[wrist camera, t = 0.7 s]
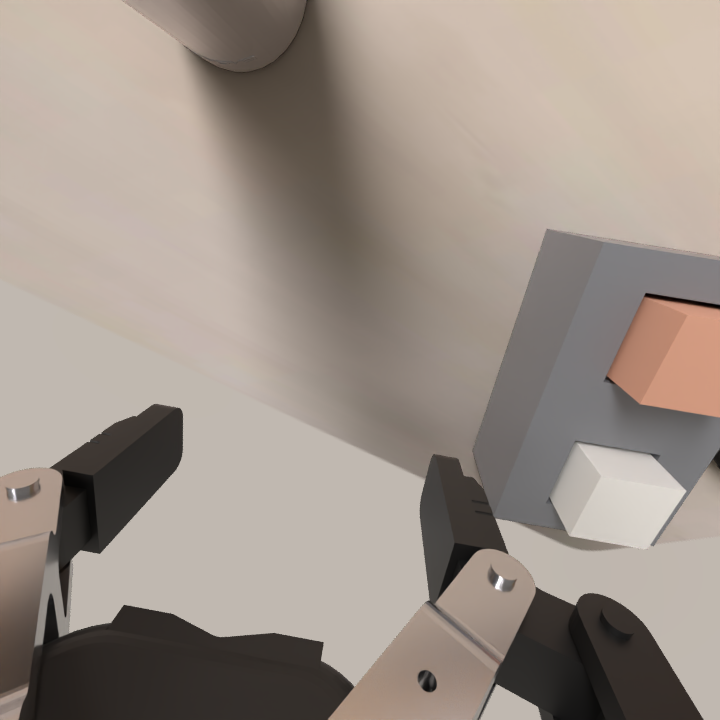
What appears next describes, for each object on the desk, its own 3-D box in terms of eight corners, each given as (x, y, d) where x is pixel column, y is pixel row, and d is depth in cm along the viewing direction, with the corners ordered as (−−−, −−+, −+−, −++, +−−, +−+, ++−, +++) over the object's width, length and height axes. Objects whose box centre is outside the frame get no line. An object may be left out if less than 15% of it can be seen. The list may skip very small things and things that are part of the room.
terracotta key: (618, 286, 23) (687, 314, 18) (699, 299, 23) (793, 332, 18) (587, 358, 25) (639, 404, 20) (660, 370, 25) (734, 419, 20)
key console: (546, 228, 27) (603, 241, 19) (714, 255, 27) (835, 278, 19) (472, 450, 35) (492, 517, 28) (599, 472, 35) (653, 545, 28)
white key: (560, 420, 27) (601, 476, 22) (627, 431, 27) (686, 490, 22) (536, 472, 29) (569, 536, 24) (600, 483, 29) (647, 549, 24)
